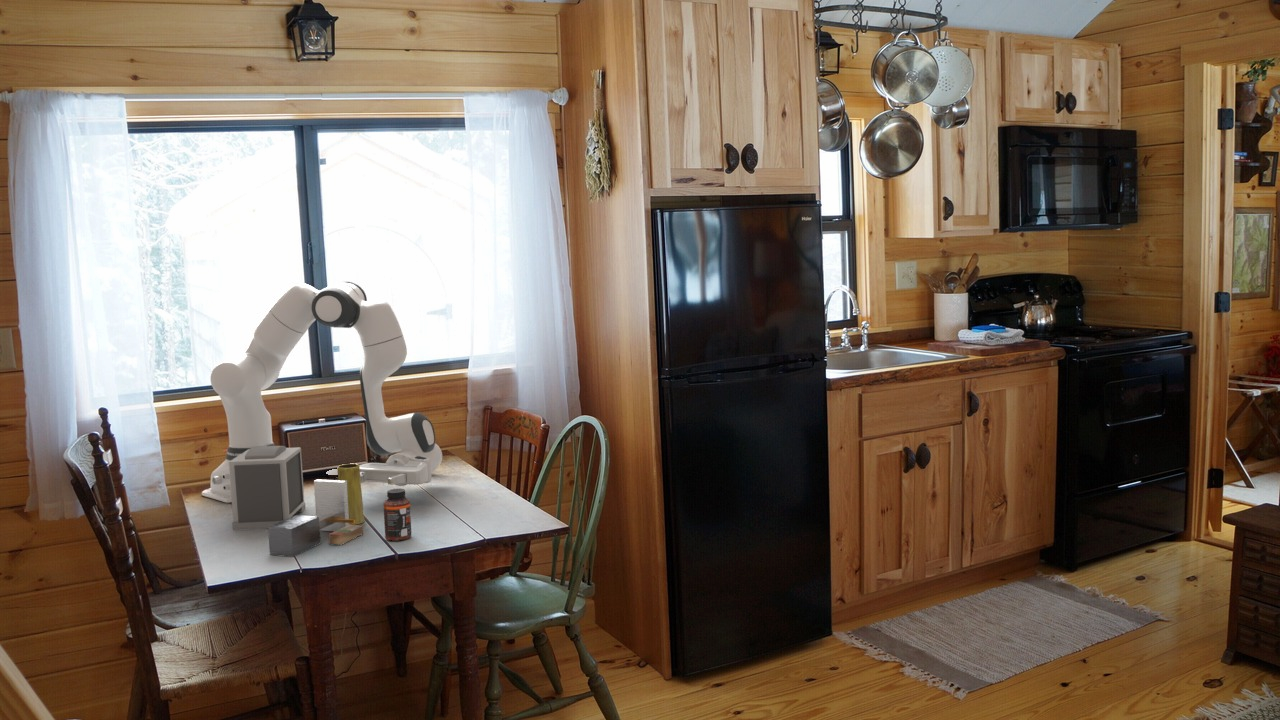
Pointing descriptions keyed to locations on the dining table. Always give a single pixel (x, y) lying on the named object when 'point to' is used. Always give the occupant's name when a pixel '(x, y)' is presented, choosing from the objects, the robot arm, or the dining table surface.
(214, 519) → the dining table surface
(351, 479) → the vase
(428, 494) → the dining table surface
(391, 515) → the supplement bottle
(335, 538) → the rail
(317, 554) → the dining table surface
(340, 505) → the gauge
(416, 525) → the dining table surface
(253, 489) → the grey box
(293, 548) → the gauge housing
